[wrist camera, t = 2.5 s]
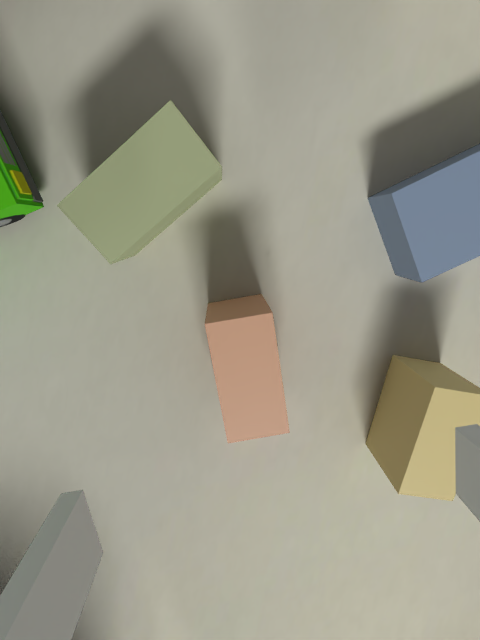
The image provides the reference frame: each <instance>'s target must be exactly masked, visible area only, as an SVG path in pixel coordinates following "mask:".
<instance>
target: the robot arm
mask: <svg viewBox="0 0 480 640" xmlns="http://www.w3.org/2000/svg"><path fill="white" fill-rule="evenodd" d="M455 472H456V494H457V495H458V497H459V498H460V499H461V500H462V501H463V502H464V504H465V505H466V506H467V507H468V508H469V509H470V511H471V512H472V513H473V514H474V515H475V516H476V518H477V519H478V520H479V521H480V426H479V425H478V424H473V425H467V426H461V427H455ZM102 554H103V550H102V547H101V544H100V541H99V538H98V534H97V531H96V528H95V525H94V522H93V519H92V516H91V513H90V510H89V507H88V504H87V501H86V498H85V495H84V492H83V490H79V491H73V492H67V493H61V495H60V496H59V498H58V500H57V501H56V503H55V505H54V506H53V508H52V510H51V511H50V513H49V515H48V516H47V518H46V520H45V522H44V523H43V525H42V527H41V528H40V530H39V532H38V533H37V535H36V537H35V538H34V540H33V542H32V543H31V545H30V547H29V548H28V550H27V552H26V553H25V555H24V557H23V558H22V560H21V562H20V563H19V565H18V567H17V568H16V570H15V572H14V573H13V575H12V577H11V578H10V580H9V582H8V583H7V585H6V587H5V588H4V590H3V592H2V594H1V595H0V640H72V637H73V634H74V631H75V629H76V626H77V623H78V620H79V618H80V615H81V612H82V609H83V607H84V604H85V601H86V598H87V596H88V593H89V590H90V587H91V585H92V582H93V579H94V576H95V574H96V571H97V568H98V565H99V563H100V560H101V557H102Z"/></svg>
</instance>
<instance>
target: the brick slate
mask: <svg viewBox="0 0 480 640" xmlns="http://www.w3.org/2000/svg"><path fill="white" fill-rule="evenodd" d="M368 200H369V203H370V206H371V209H372V212H373V214H374V217H375V220H376V223H377V225H378V228H379V231H380V234H381V236H382V239H383V242H384V245H385V248H386V250H387V253H388V256H389V259H390V261H391V264H392V267H393V270H394V273H395V275H397V276H401V277H404V278H408V279H411V280H415V281H418V282H424V281H426V280H428V279H431V278H433V277H435V276H437V275H439V274H441V273H444V272H446V271H448V270H450V269H452V268H454V267H456V266H459V265H461V264H463V263H465V262H467V261H469V260H472V259H474V258H476V257H478V256H480V144H478V145H476V146H474V147H472V148H470V149H468V150H466V151H464V152H462V153H460V154H458V155H455V156H453V157H451V158H449V159H447V160H445V161H443V162H441V163H439V164H437V165H435V166H433V167H431V168H429V169H427V170H424V171H422V172H420V173H418V174H416V175H414V176H412V177H410V178H408V179H406V180H404V181H402V182H400V183H398V184H396V185H394V186H391V187H389V188H387V189H385V190H383V191H381V192H379V193H377V194H375V195H373V196H371V197H369V198H368Z"/></svg>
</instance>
